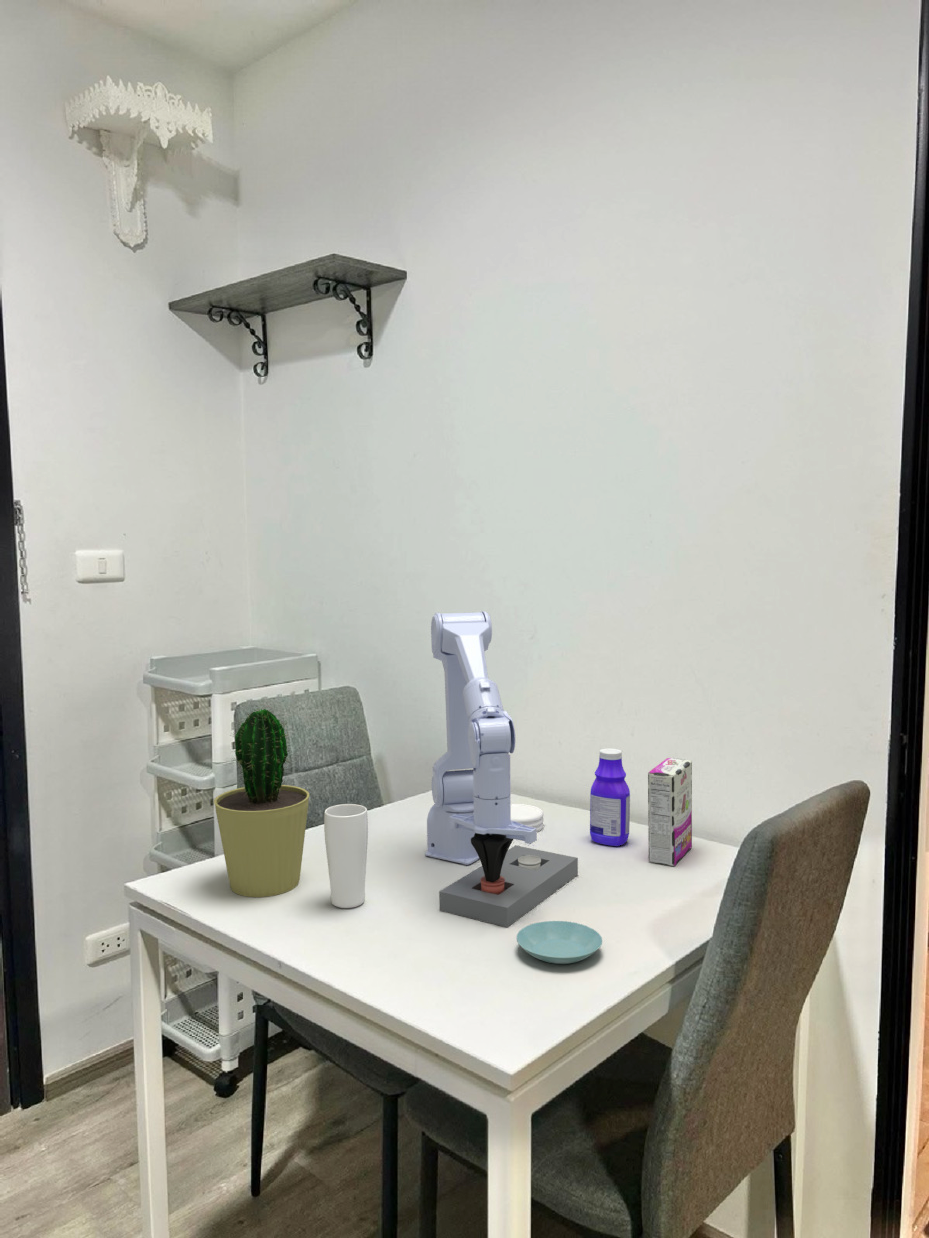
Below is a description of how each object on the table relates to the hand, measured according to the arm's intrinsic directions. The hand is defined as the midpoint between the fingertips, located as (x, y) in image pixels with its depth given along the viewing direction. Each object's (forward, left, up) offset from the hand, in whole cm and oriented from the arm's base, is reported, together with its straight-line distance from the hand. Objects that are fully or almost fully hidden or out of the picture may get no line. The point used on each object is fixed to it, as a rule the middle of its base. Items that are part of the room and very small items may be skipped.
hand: (492, 879), depth 143 cm
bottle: (+4, +36, -4) cm, 36 cm away
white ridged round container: (-15, +35, -4) cm, 38 cm away
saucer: (+16, -9, -4) cm, 19 cm away
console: (0, +6, -4) cm, 7 cm away
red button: (0, 0, -3) cm, 3 cm away
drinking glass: (-20, -11, -4) cm, 23 cm away
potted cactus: (-37, -12, -4) cm, 39 cm away
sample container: (0, +12, -3) cm, 12 cm away
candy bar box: (+16, +35, -4) cm, 39 cm away
